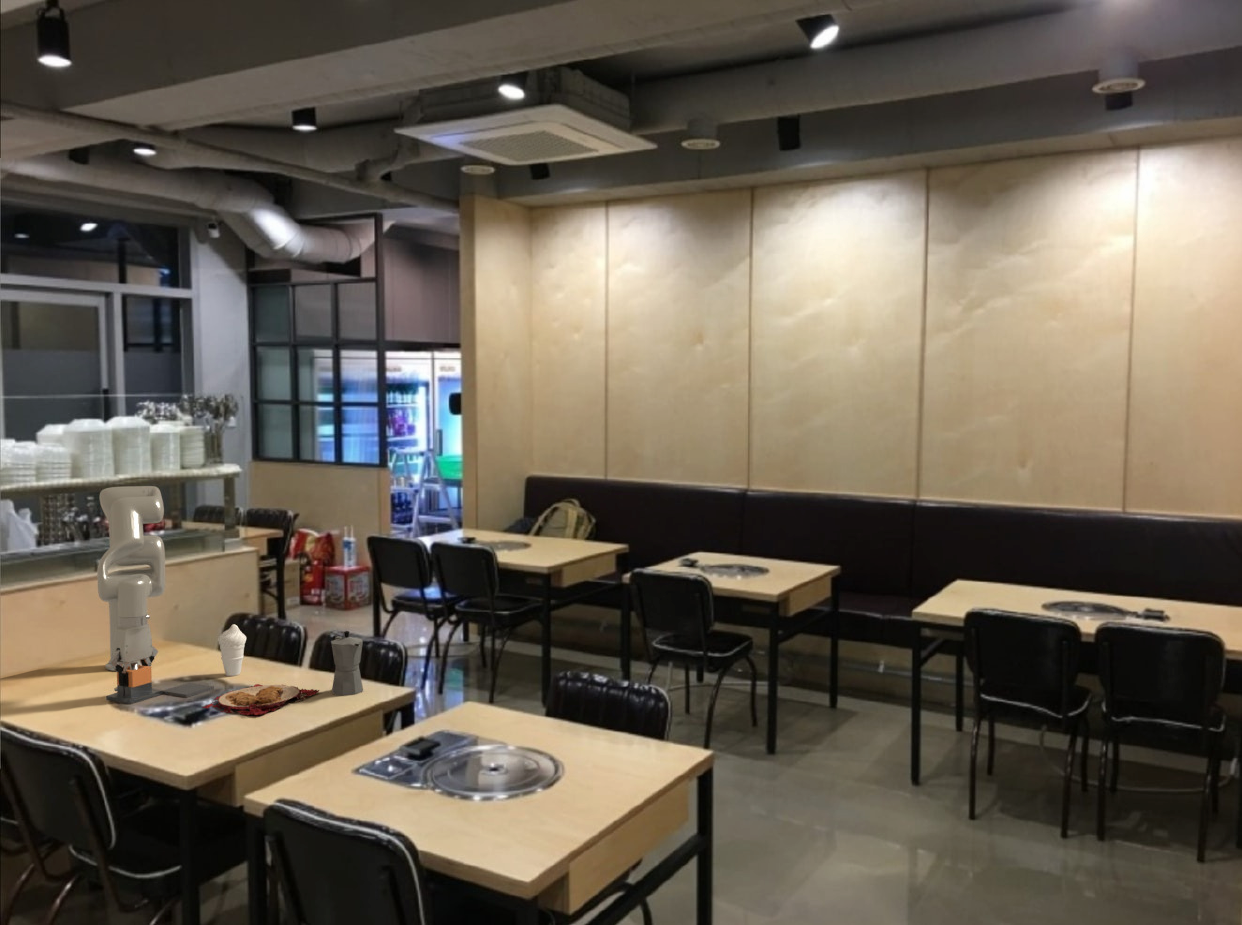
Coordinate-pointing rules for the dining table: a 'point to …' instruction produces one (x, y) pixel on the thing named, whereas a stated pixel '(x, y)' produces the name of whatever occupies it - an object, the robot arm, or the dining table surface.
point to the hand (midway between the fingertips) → (134, 682)
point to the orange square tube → (138, 676)
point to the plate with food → (259, 698)
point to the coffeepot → (347, 665)
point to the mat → (187, 690)
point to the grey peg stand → (134, 691)
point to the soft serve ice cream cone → (232, 650)
